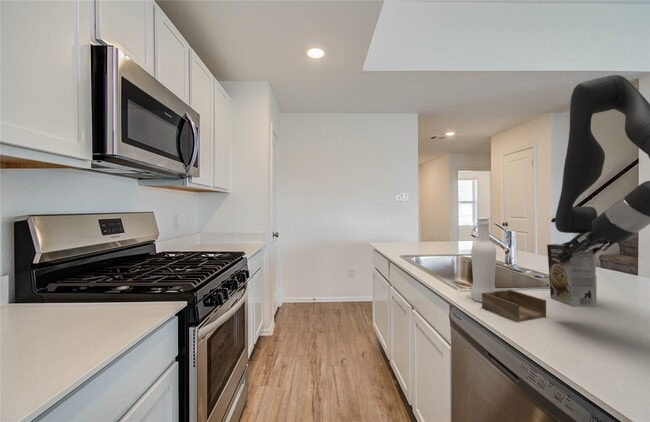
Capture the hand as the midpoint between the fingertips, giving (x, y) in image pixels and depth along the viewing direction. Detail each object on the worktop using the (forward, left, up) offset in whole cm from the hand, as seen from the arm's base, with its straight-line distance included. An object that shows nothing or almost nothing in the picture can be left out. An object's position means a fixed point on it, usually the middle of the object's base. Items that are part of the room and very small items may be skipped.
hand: (570, 258), depth 82 cm
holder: (+5, -14, -19) cm, 24 cm away
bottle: (+4, -26, -19) cm, 32 cm away
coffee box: (0, 0, -13) cm, 13 cm away
